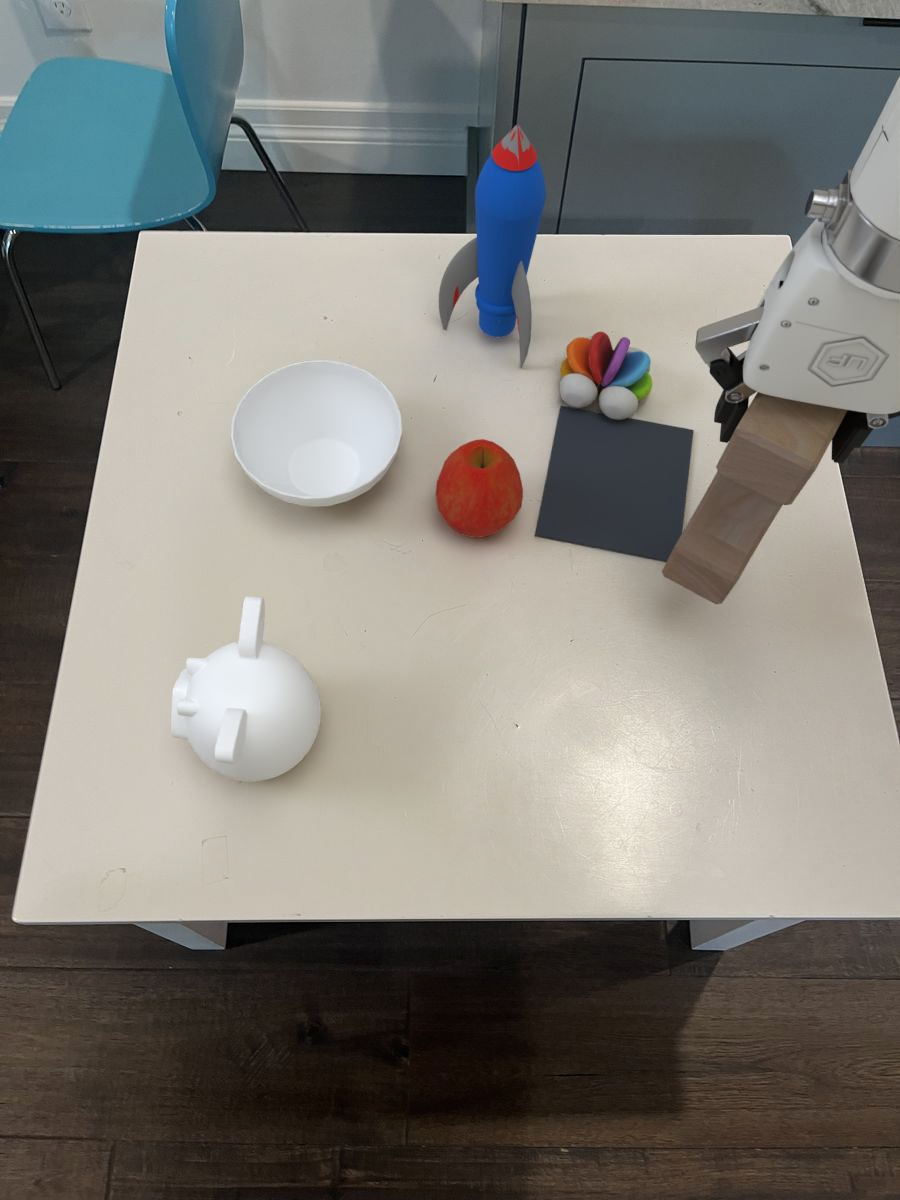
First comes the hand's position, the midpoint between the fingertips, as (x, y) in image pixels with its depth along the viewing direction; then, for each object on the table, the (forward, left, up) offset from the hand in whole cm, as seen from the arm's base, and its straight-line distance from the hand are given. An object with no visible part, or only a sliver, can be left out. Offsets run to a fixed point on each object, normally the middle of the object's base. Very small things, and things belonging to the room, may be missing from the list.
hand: (781, 435), depth 61 cm
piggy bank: (+35, +22, -25) cm, 48 cm away
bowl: (+37, -6, -25) cm, 45 cm away
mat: (+8, -11, -25) cm, 28 cm away
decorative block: (0, 0, -15) cm, 15 cm away
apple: (+21, -4, -25) cm, 33 cm away
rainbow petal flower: (+11, -22, -25) cm, 35 cm away
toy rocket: (+25, -27, -25) cm, 44 cm away
